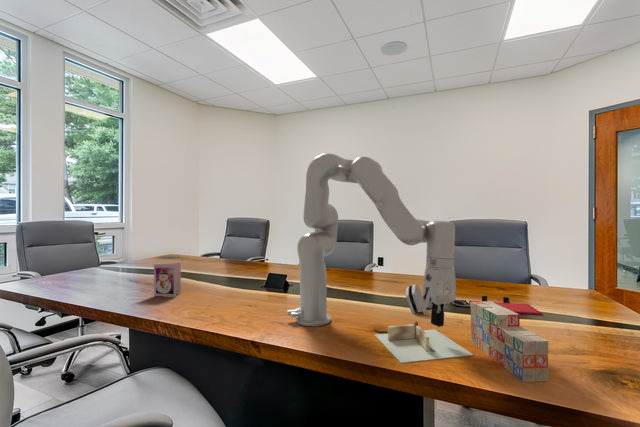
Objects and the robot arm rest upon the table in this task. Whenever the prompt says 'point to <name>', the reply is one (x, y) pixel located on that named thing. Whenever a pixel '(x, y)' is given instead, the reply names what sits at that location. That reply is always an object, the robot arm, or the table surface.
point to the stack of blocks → (509, 341)
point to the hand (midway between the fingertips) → (437, 324)
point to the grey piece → (415, 299)
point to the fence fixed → (402, 332)
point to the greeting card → (167, 279)
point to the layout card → (416, 352)
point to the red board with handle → (505, 306)
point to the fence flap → (422, 338)
